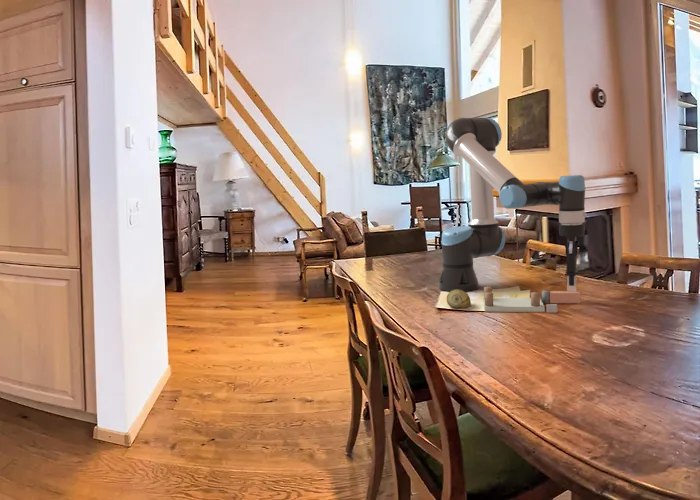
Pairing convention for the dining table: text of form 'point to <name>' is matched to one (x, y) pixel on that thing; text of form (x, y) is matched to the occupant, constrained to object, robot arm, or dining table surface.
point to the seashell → (458, 299)
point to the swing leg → (560, 297)
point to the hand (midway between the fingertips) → (571, 294)
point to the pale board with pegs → (515, 303)
